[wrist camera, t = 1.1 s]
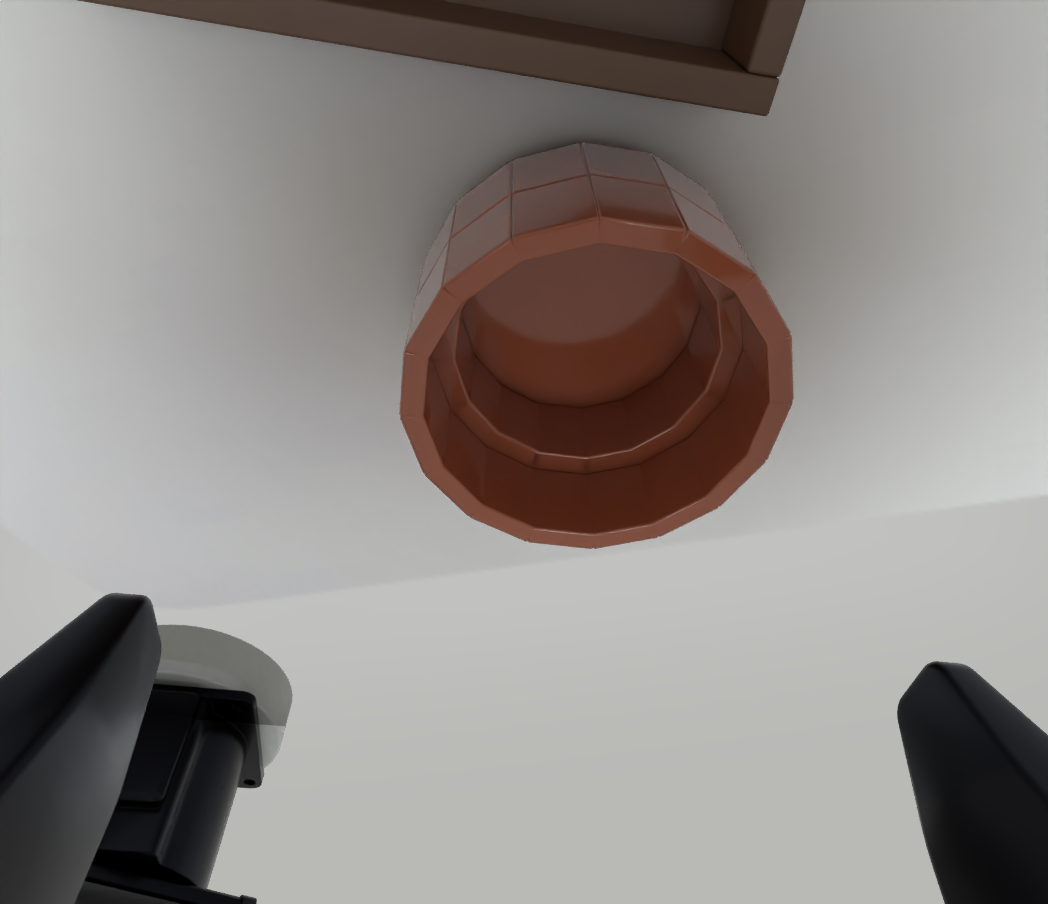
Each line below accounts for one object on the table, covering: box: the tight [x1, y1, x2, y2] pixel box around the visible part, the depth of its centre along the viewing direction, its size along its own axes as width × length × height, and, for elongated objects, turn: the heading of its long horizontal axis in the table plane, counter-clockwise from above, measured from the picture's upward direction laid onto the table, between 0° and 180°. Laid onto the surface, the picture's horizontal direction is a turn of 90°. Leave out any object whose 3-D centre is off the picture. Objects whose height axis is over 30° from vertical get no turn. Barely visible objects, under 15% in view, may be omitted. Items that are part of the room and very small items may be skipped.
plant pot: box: [399, 142, 794, 549], centre depth 16 cm, size 7×7×4 cm
